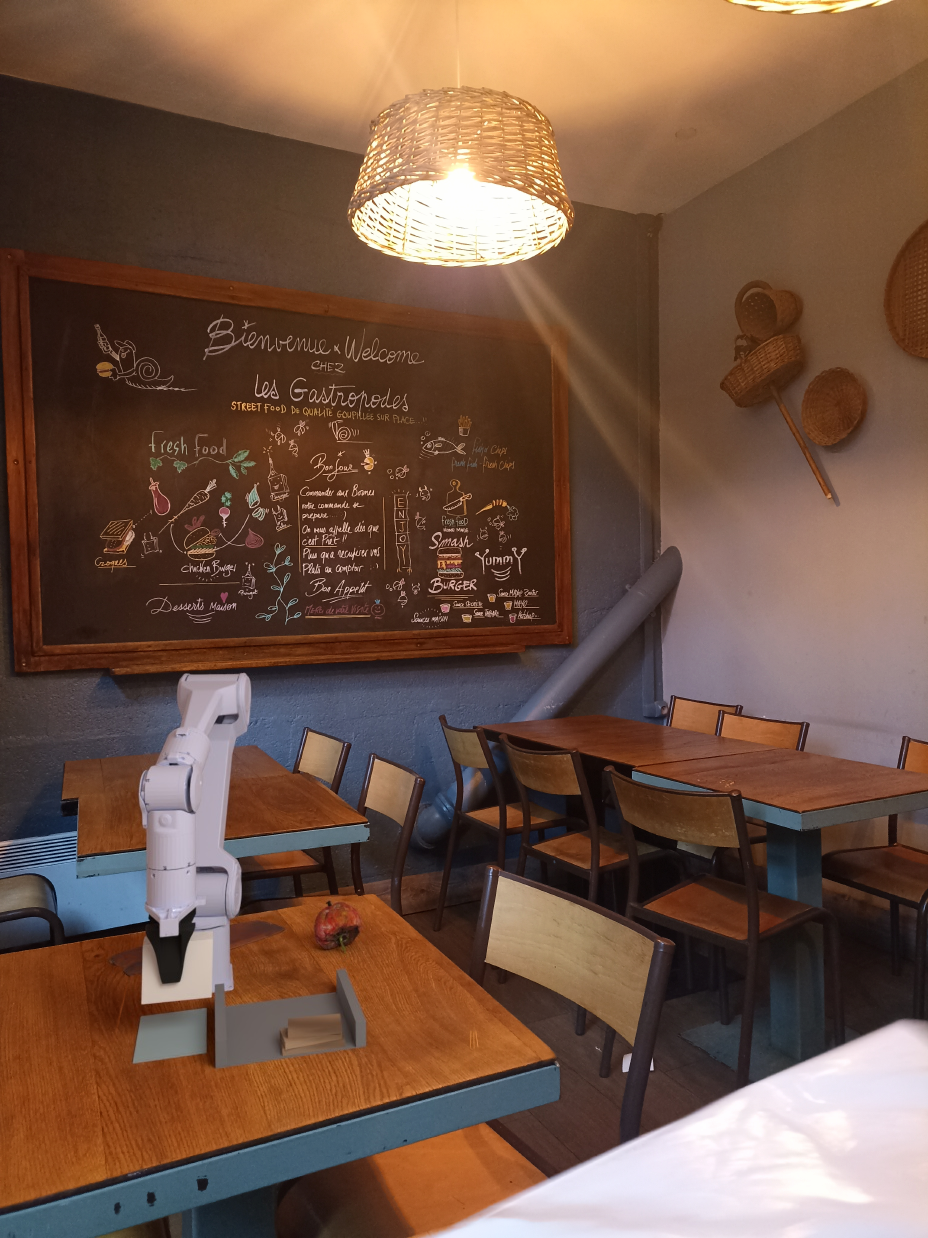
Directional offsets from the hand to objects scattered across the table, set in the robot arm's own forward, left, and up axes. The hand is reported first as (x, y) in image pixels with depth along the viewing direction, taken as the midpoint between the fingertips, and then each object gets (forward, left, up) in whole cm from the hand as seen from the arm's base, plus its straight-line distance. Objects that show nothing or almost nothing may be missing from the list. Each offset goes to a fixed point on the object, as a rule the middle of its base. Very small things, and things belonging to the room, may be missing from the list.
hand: (171, 976), depth 104 cm
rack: (+2, +14, -8) cm, 16 cm away
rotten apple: (-23, +24, -8) cm, 34 cm away
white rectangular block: (0, +1, -2) cm, 2 cm away
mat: (0, 0, -8) cm, 8 cm away
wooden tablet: (-31, +3, -8) cm, 32 cm away
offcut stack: (+7, +16, -7) cm, 19 cm away
